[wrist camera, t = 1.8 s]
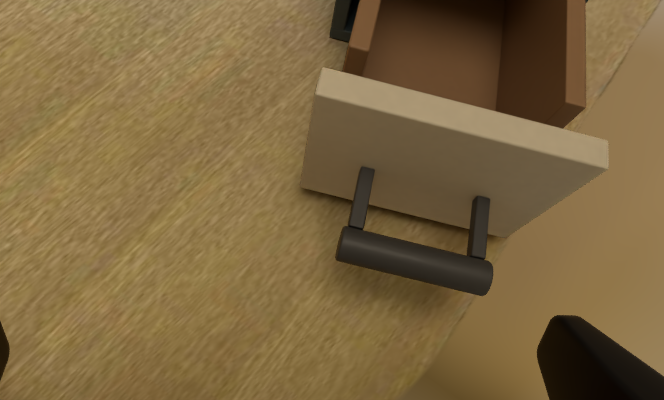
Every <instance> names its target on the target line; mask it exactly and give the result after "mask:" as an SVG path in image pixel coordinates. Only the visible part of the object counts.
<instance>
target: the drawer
mask: <svg viewBox="0 0 664 400" xmlns="http://www.w3.org/2000/svg"><path fill="white" fill-rule="evenodd" d="M585 108H586V15H585V0H360V1H359V5H358V9H357V13H356V17H355V21H354V25H353V29H352V33H351V37H350V41H349V45H348V49H347V53H346V57H345V61H344V66H343V70H342V72H341V71H337V70H333V69H329V68H325V67H323V68H322V69H321V72H320V75H319V79H318V83H317V86H316V90H315V94H314V100H313V106H312V113H311V119H310V125H309V131H308V137H307V144H306V150H305V156H304V162H303V169H302V175H301V181H300V187H301V188H305V189H309V190H313V191H317V192H321V193H325V194H329V195H333V196H337V197H341V198H345V199H349V200H353V202H352V207H351V212H350V216H349V221H348V226H344V227H343V228H342V231H341V234H340V237H339V241H338V245H337V250H336V256H335V258H336V260H337V261H340V262H344V263H348V264H352V265H356V266H360V267H364V268H368V269H372V270H377V271H381V272H385V273H389V274H393V275H397V276H401V277H405V278H409V279H414V280H418V281H422V282H426V283H430V284H434V285H438V286H442V287H446V288H450V289H455V290H459V291H463V292H467V293H471V294H475V295H479V296H484V295H486V294H487V292H488V291H489V289H490V286H491V283H492V279H493V266H492V264H491V263H490V262H489V261H486V260H484V259H485V257H486V245H487V234H490V235H494V236H498V237H502V238H506V237H508V236H509V235H511V234H512V233H514V232H515V231H517V230H518V229H520V228H521V227H522V226H524V225H526V224H527V223H529V222H530V221H531V220H533V219H534V218H536V217H537V216H539V215H540V214H542V213H543V212H545V211H546V210H548V209H549V208H551V207H552V206H554V205H555V204H557V203H558V202H560V201H561V200H563V199H564V198H565V197H567V196H569V195H570V194H572V193H573V192H575V191H576V190H578V189H579V188H581V187H582V186H583V185H585V184H586V183H588V182H590V181H591V180H593V179H594V178H596V177H597V176H598V175H600V174H601V173H603V172H605V171H606V170H607V169H608V168H609V160H608V141H607V140H604V139H601V138H597V137H593V136H589V135H585V134H581V133H577V132H574V131H570V130H566V129H563V128H564V127H565V126H566V125H567V124H568V123H569V122H570V121H572V120H573V119H574V118H575V117H576V116H577V115H578V114H579V113H580V112H581V111H583V110H584V109H585ZM368 204H370V205H374V206H378V207H382V208H386V209H390V210H394V211H398V212H402V213H406V214H410V215H414V216H418V217H422V218H426V219H430V220H434V221H438V222H442V223H446V224H450V225H454V226H458V227H462V228H466V229H469V238H468V248H467V256H465V255H461V254H457V253H453V252H449V251H445V250H441V249H437V248H433V247H429V246H425V245H421V244H417V243H413V242H409V241H405V240H401V239H396V238H392V237H388V236H384V235H380V234H376V233H372V232H368V231H364V230H363V228H364V224H365V219H366V214H367V208H368Z"/></svg>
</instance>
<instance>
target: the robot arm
mask: <svg viewBox="0 0 664 400" xmlns="http://www.w3.org/2000/svg"><path fill="white" fill-rule="evenodd" d="M8 358H9V343H8V340H7V337H6V335H5V332H4V330H3V327H2V324H1V322H0V380H1V377H2V375H3V372H4V369H5V367H6V364H7V361H8ZM537 358H538V363H539V367H540V370H541V373H542V376H543V379H544V383H545V386H546V390H547V393H548V396H549V399H550V400H664V376H662V375H661V374H660V373H658V372H657V371H655V370H654V369H652V368H651V367H650V366H648V365H647V364H646V363H644V362H643V361H641V360H640V359H639V358H637V357H636V356H634V355H633V354H632V353H630V352H629V351H627V350H626V349H624V348H623V347H622V346H620V345H619V344H618V343H616V342H615V341H613V340H612V339H611V338H609V337H608V336H606V335H605V334H604V333H602V332H601V331H599V330H598V329H597V328H595V327H594V326H592V325H591V324H590V323H588V322H587V321H585V320H584V319H582V318H581V317H578V316H572V315H571V316H569V315H557V316H554V317H553V318H552V319H551V320H550V322H549V324H548V326H547V328H546V331H545V333H544V335H543V337H542V339H541V341H540V343H539V345H538V349H537Z"/></svg>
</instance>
